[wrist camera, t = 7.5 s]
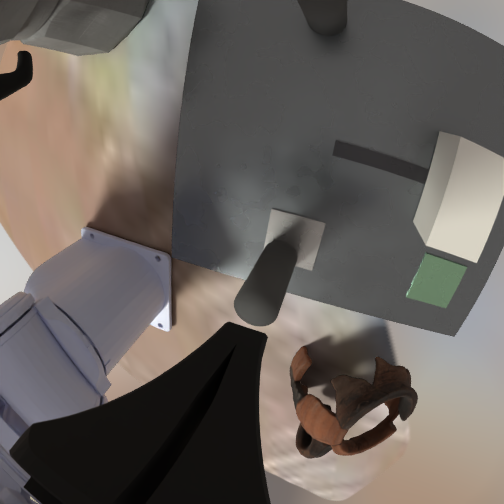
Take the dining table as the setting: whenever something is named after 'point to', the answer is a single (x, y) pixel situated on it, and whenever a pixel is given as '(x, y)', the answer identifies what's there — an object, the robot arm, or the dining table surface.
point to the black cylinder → (325, 15)
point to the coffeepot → (63, 30)
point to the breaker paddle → (460, 197)
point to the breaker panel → (333, 151)
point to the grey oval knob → (266, 285)
